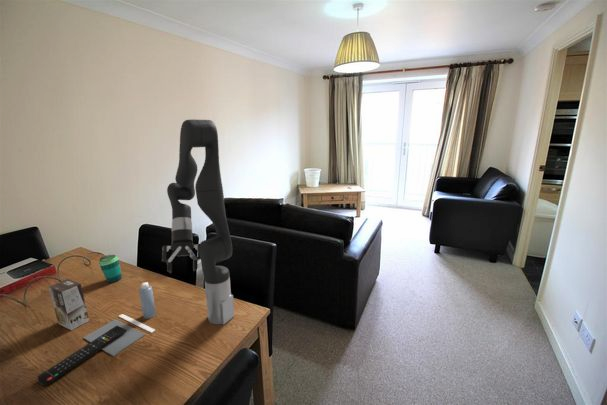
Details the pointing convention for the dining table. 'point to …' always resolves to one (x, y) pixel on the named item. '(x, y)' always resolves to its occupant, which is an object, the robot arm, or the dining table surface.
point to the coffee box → (69, 303)
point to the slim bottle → (147, 300)
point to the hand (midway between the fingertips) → (182, 271)
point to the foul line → (136, 323)
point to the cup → (111, 268)
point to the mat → (119, 342)
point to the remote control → (79, 356)
